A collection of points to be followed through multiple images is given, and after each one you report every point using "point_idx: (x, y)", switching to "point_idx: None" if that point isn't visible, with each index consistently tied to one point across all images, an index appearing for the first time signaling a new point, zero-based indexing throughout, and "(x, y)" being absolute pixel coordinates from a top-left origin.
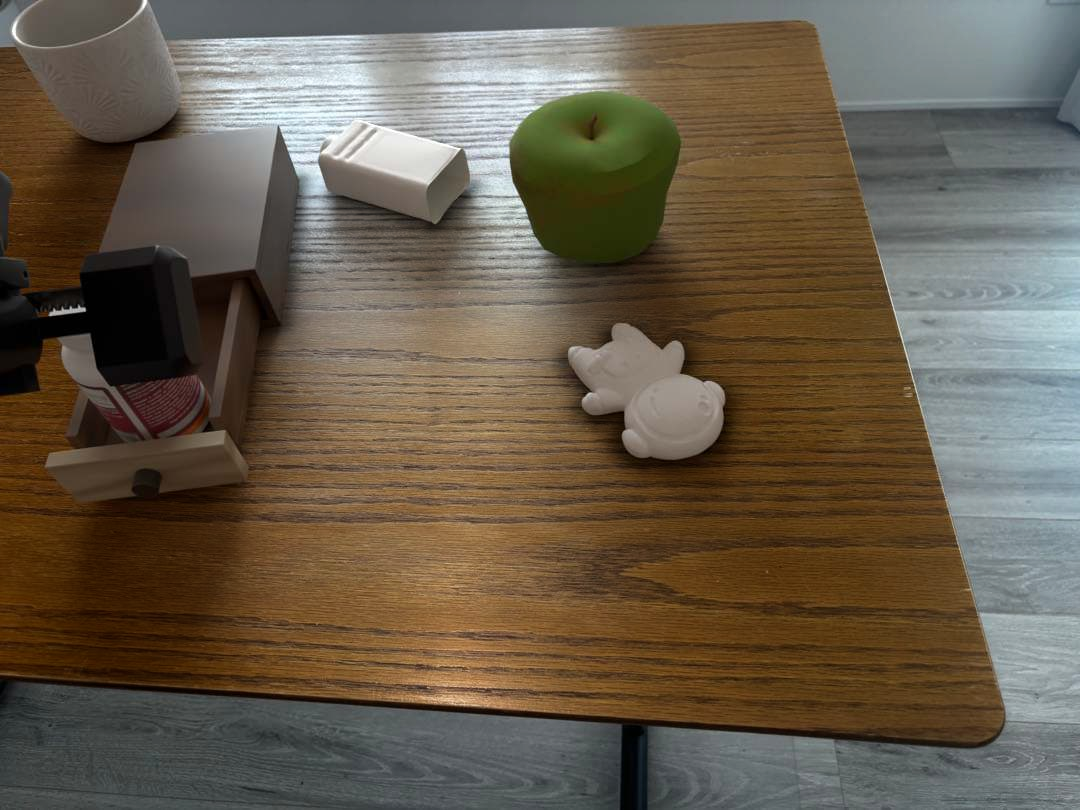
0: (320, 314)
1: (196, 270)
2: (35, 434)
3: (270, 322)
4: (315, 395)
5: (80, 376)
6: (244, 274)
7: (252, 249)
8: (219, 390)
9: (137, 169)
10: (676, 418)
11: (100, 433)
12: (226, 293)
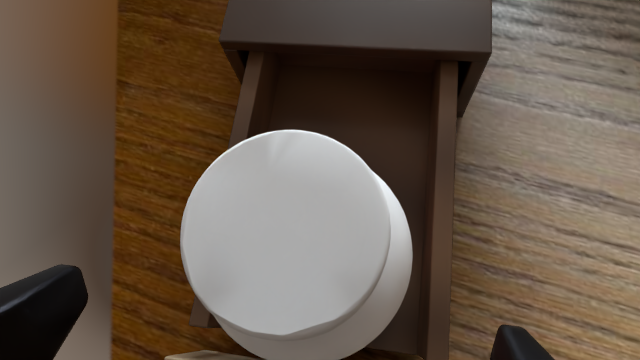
0: (517, 110)
1: (390, 35)
2: (144, 219)
3: None
4: (524, 258)
5: (240, 344)
6: (468, 57)
7: (482, 11)
8: (441, 298)
9: None
10: None
11: None
12: (404, 63)
